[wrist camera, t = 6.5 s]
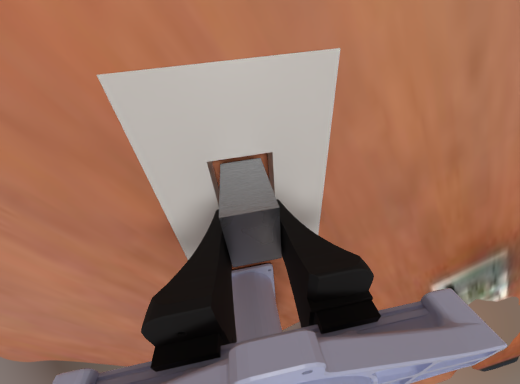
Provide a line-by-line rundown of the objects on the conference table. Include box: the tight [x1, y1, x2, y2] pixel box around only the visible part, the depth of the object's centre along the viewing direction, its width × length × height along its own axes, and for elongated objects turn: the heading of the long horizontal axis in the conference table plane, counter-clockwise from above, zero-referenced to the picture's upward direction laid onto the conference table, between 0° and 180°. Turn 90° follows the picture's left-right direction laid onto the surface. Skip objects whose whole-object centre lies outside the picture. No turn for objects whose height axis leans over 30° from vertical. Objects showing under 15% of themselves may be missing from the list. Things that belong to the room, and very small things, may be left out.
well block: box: [97, 48, 340, 260], centre depth 17 cm, size 18×14×2 cm
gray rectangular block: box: [219, 158, 282, 267], centre depth 13 cm, size 4×3×6 cm
